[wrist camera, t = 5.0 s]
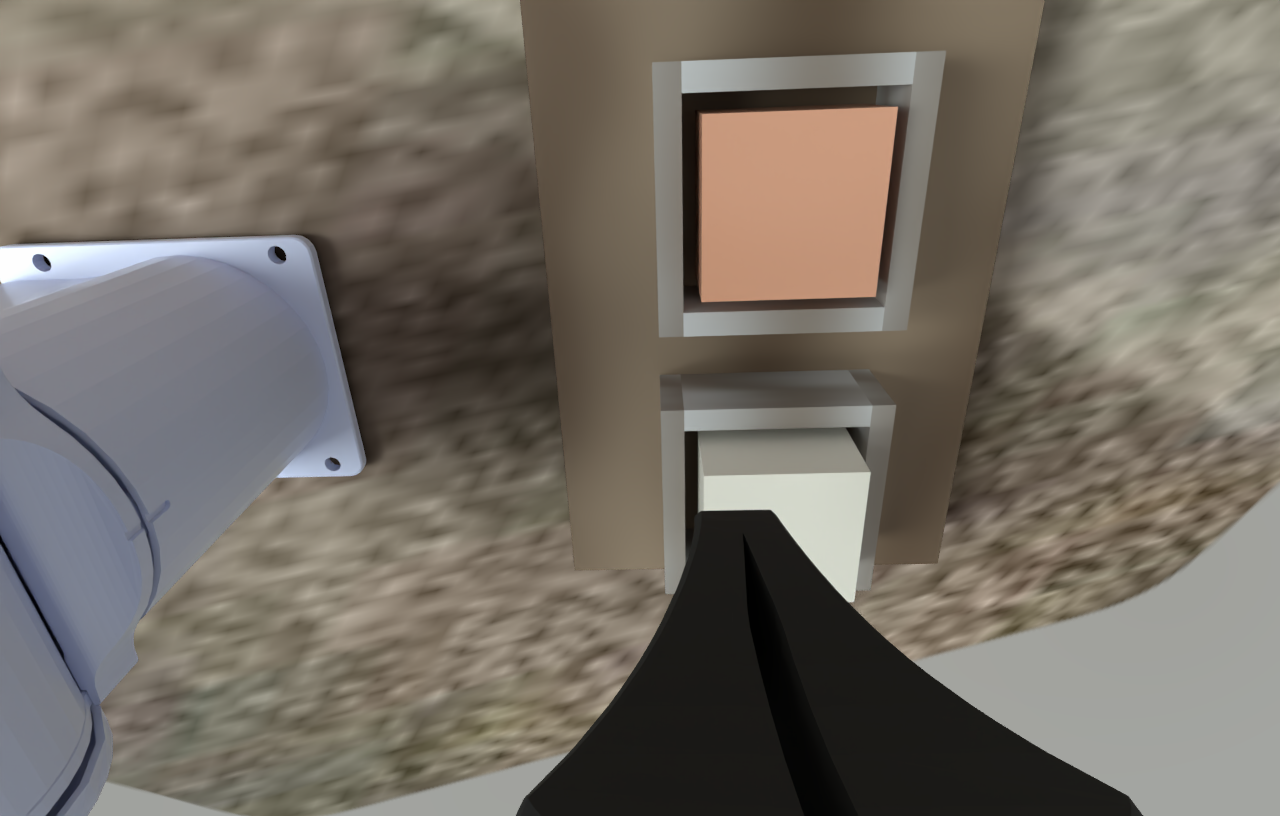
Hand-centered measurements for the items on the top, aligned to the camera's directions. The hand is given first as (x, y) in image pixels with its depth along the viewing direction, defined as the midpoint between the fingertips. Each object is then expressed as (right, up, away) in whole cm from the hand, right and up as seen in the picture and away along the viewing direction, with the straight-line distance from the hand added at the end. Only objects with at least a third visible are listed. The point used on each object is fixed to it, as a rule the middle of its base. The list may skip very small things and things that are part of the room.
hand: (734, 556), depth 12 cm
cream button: (+2, 0, +7) cm, 8 cm away
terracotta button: (+2, +8, +5) cm, 10 cm away
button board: (+2, +9, +7) cm, 12 cm away
